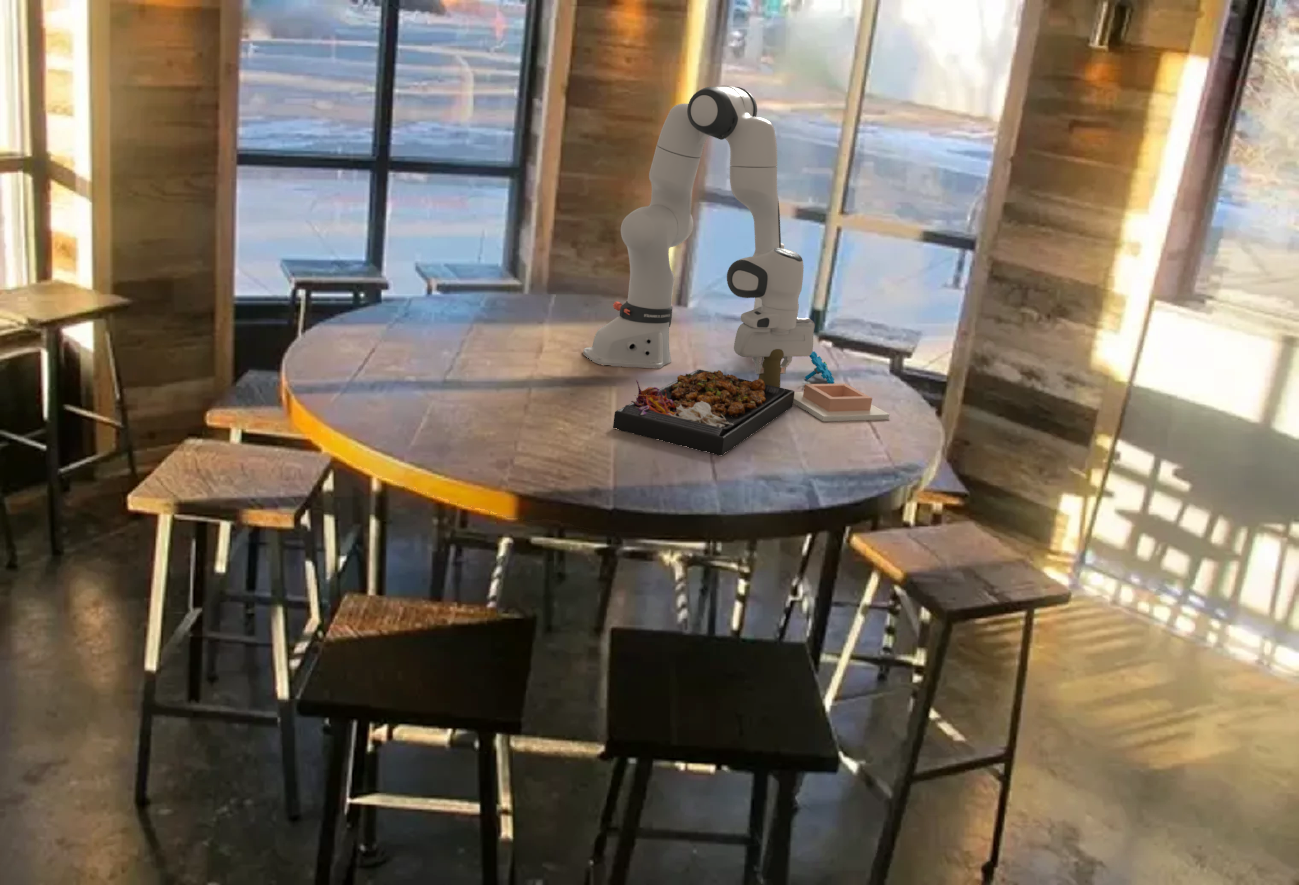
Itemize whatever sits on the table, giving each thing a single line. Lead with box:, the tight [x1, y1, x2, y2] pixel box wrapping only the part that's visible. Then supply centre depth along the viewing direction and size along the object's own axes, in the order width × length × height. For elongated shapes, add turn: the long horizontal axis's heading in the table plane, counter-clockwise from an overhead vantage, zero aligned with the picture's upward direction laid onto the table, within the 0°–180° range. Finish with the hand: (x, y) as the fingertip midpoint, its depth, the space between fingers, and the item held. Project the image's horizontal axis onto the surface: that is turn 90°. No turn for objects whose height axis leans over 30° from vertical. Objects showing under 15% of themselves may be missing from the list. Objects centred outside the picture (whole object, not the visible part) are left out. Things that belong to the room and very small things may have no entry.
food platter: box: [612, 368, 795, 456], centre depth 270 cm, size 45×25×10 cm, turn 155°
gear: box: [804, 351, 835, 384], centre depth 310 cm, size 11×6×10 cm
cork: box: [757, 349, 784, 388], centre depth 296 cm, size 6×6×11 cm
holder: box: [793, 383, 891, 422], centre depth 288 cm, size 18×18×4 cm
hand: (770, 373), depth 296 cm, fingers closed on cork, 5 cm apart
